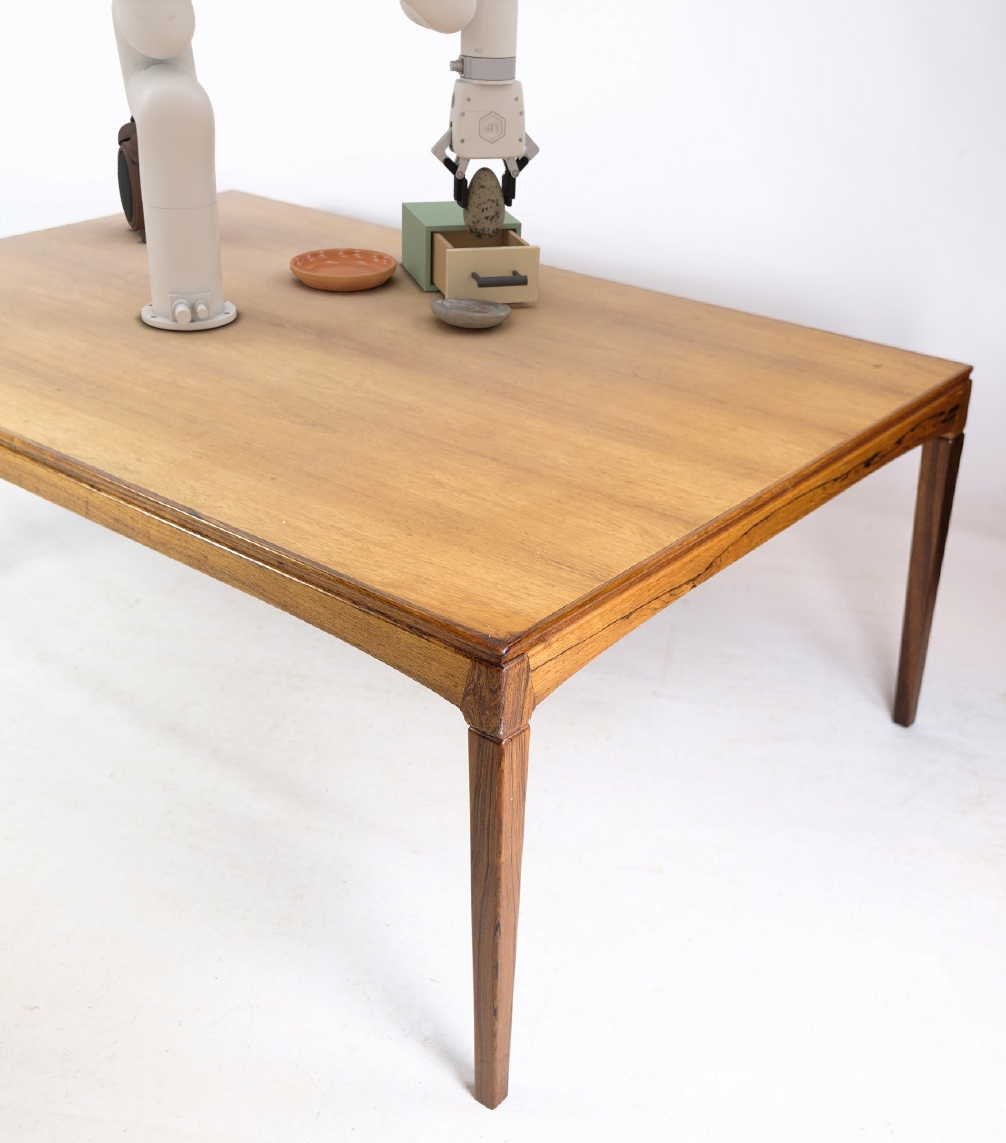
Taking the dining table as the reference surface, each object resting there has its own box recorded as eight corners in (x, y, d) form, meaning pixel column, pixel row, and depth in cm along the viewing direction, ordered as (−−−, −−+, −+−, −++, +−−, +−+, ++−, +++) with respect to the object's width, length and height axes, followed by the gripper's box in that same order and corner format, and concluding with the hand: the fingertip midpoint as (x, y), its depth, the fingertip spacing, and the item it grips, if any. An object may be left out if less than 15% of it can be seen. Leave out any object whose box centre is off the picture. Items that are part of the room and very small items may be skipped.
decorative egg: (512, 239, 185) (515, 167, 181) (485, 246, 181) (487, 173, 177) (480, 232, 189) (482, 161, 184) (453, 238, 185) (455, 166, 180)
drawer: (548, 311, 181) (551, 256, 178) (456, 316, 178) (457, 260, 174) (508, 274, 198) (510, 223, 194) (423, 278, 194) (423, 226, 190)
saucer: (281, 292, 188) (280, 272, 187) (300, 264, 202) (299, 245, 201) (391, 297, 188) (391, 277, 186) (402, 269, 202) (401, 249, 201)
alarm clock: (117, 227, 219) (104, 103, 210) (160, 224, 222) (149, 101, 212) (134, 247, 207) (121, 117, 198) (179, 244, 210) (168, 115, 201)
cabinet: (519, 287, 195) (521, 223, 191) (425, 291, 191) (425, 226, 187) (490, 260, 208) (492, 200, 204) (401, 264, 204) (401, 202, 200)
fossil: (472, 313, 185) (473, 293, 184) (523, 330, 177) (525, 310, 176) (412, 318, 179) (413, 298, 178) (463, 336, 171) (465, 315, 170)
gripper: (432, 73, 169) (431, 213, 177) (557, 73, 173) (550, 209, 182) (419, 66, 175) (418, 201, 184) (539, 66, 180) (534, 198, 188)
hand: (484, 204), depth 183 cm, fingers closed on decorative egg, 5 cm apart
